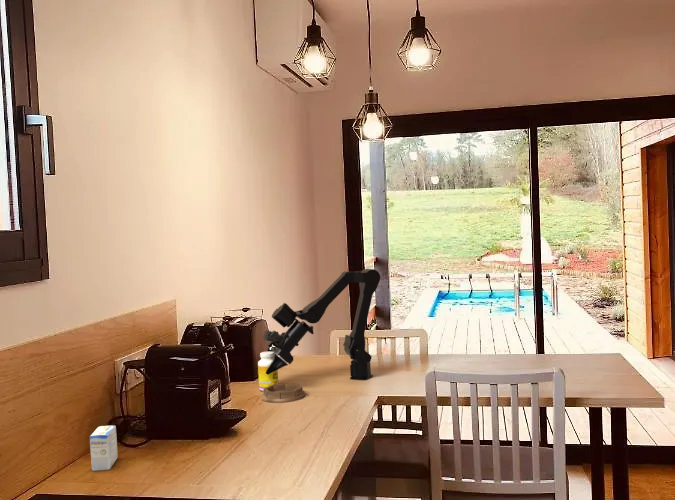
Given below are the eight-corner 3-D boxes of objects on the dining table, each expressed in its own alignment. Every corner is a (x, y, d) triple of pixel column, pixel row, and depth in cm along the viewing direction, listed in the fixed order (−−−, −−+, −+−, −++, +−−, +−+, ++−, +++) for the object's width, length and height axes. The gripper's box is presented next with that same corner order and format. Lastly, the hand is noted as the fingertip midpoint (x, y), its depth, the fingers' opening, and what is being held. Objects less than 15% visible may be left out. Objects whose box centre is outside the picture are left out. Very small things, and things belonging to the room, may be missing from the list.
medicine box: (100, 460, 170) (97, 426, 170) (118, 458, 170) (115, 424, 170) (91, 471, 162) (88, 435, 162) (110, 469, 163) (107, 434, 162)
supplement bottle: (275, 392, 229) (273, 354, 228) (256, 392, 230) (254, 354, 229) (281, 387, 235) (278, 350, 235) (262, 387, 237) (260, 351, 236)
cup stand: (312, 392, 225) (311, 383, 225) (291, 404, 212) (291, 394, 212) (275, 390, 231) (275, 381, 231) (253, 401, 218) (253, 392, 218)
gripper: (271, 317, 242) (242, 351, 239) (281, 324, 224) (250, 361, 221) (293, 337, 244) (265, 371, 242) (306, 345, 226) (275, 382, 224)
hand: (263, 371), depth 232 cm, fingers open, 9 cm apart
